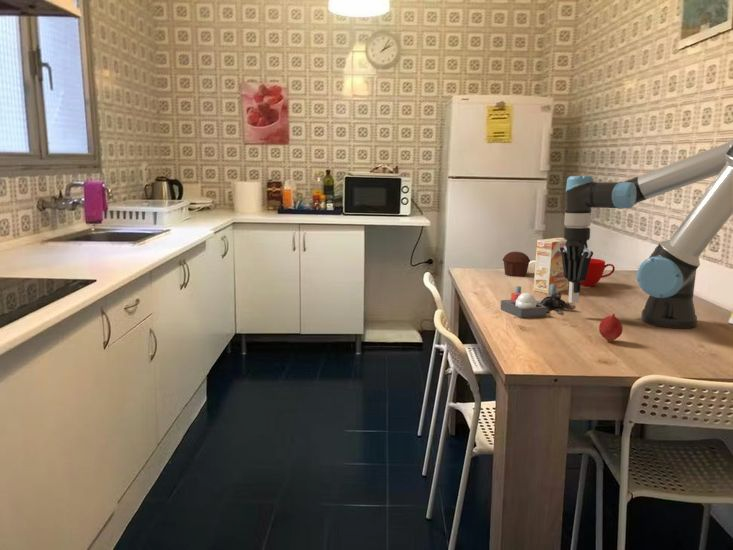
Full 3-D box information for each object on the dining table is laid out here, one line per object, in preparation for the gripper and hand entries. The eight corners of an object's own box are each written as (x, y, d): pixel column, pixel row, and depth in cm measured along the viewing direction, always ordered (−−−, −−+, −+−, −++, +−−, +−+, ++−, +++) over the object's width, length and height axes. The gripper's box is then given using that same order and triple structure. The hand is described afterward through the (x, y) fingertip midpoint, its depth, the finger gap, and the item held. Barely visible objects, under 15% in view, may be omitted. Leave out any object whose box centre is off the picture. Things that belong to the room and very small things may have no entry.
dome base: (545, 316, 183) (547, 299, 182) (520, 318, 181) (522, 301, 180) (524, 307, 194) (525, 291, 193) (500, 309, 192) (501, 293, 191)
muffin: (532, 274, 255) (534, 251, 253) (524, 278, 246) (526, 254, 244) (506, 271, 261) (507, 249, 260) (497, 275, 252) (499, 252, 250)
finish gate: (556, 302, 203) (557, 285, 202) (517, 305, 198) (518, 287, 197) (552, 300, 205) (553, 283, 204) (513, 303, 200) (514, 286, 199)
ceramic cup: (617, 289, 226) (619, 264, 224) (571, 287, 228) (573, 262, 227) (608, 283, 238) (611, 258, 237) (565, 281, 241) (567, 257, 239)
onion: (594, 341, 157) (596, 312, 156) (603, 337, 161) (606, 309, 160) (615, 346, 153) (618, 316, 152) (624, 342, 157) (627, 313, 156)
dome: (539, 313, 184) (541, 294, 183) (522, 315, 182) (523, 295, 181) (528, 309, 190) (529, 290, 189) (511, 310, 188) (512, 291, 187)
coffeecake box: (548, 294, 216) (552, 241, 212) (532, 290, 221) (535, 239, 218) (571, 289, 225) (575, 238, 222) (554, 286, 231) (558, 237, 227)
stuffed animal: (534, 309, 188) (540, 283, 196) (536, 329, 195) (542, 303, 202) (572, 313, 183) (577, 286, 191) (573, 334, 190) (578, 307, 197)
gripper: (602, 228, 174) (597, 305, 177) (573, 224, 186) (570, 297, 190) (580, 229, 171) (577, 307, 175) (553, 225, 184) (550, 299, 187)
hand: (573, 302), depth 182 cm, fingers closed
